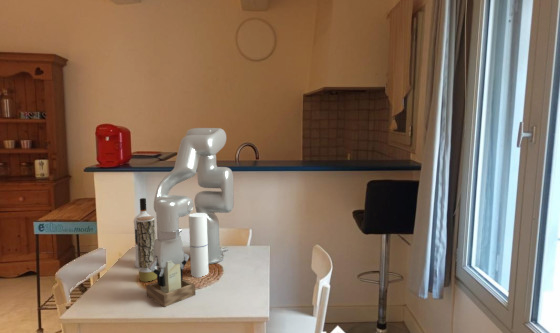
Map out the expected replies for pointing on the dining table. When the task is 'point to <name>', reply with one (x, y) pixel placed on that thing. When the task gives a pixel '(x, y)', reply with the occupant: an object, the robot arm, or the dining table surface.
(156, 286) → the brown wooden square tray
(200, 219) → the cylindrical container
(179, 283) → the skincare box
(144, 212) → the vodka
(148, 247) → the paper tube
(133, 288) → the dining table surface
